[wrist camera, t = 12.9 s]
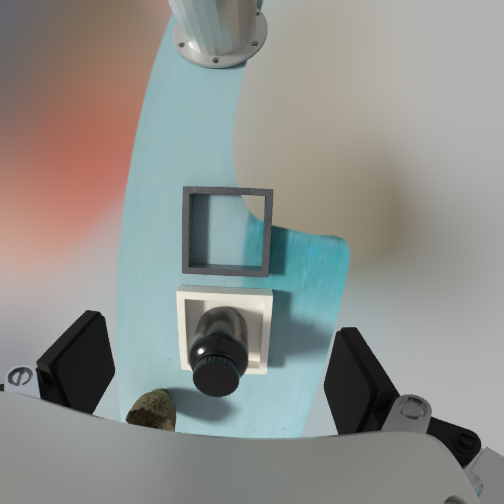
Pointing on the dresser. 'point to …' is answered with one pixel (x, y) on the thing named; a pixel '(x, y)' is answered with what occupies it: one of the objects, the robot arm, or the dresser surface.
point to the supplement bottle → (219, 351)
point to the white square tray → (240, 299)
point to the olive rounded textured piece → (153, 411)
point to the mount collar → (224, 269)
